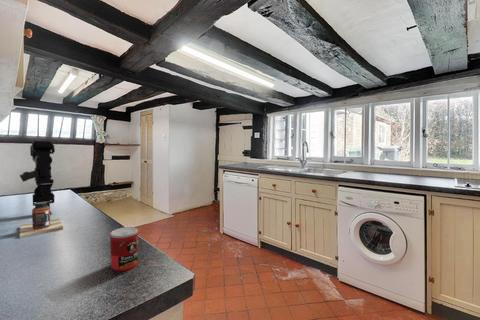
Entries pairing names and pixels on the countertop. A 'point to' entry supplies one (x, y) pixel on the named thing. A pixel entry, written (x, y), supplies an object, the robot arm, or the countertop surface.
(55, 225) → the birch board
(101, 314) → the countertop surface
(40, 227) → the supplement bottle
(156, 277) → the countertop surface
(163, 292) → the countertop surface
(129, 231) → the canned food
